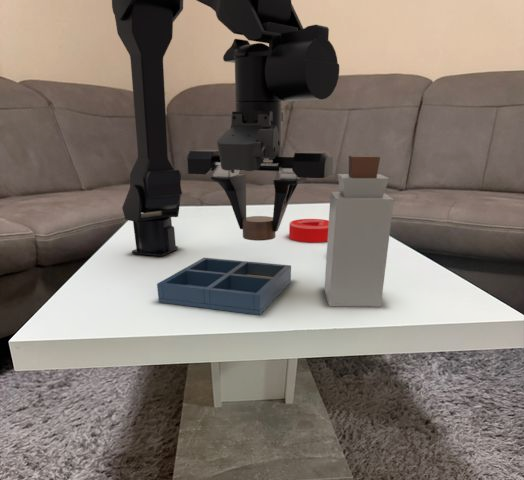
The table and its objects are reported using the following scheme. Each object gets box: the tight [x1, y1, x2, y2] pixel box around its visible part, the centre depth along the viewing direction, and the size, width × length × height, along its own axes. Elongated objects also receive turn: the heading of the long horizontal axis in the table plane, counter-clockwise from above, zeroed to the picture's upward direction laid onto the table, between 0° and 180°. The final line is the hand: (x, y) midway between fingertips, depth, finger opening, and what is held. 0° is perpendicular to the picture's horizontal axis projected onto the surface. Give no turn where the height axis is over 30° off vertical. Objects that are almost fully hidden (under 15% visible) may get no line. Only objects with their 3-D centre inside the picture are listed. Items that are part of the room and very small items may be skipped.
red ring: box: [288, 218, 329, 243], centre depth 97 cm, size 10×10×3 cm
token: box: [242, 215, 276, 242], centre depth 63 cm, size 5×5×2 cm
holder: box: [156, 257, 292, 316], centre depth 65 cm, size 14×14×3 cm
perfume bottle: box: [324, 155, 395, 308], centre depth 59 cm, size 7×7×18 cm
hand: (258, 230), depth 64 cm, fingers closed on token, 4 cm apart
